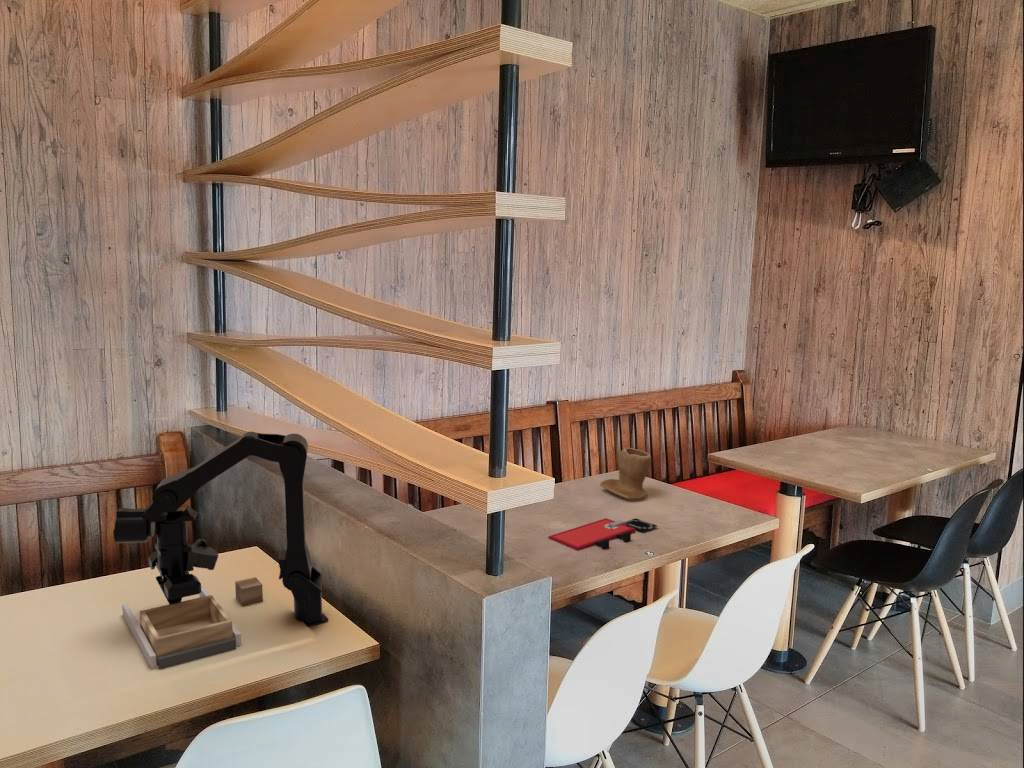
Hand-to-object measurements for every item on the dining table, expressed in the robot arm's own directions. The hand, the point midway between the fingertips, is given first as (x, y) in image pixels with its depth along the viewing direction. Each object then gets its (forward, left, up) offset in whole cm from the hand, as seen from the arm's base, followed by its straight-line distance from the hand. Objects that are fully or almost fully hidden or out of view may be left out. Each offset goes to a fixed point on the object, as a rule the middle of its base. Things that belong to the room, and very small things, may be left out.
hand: (175, 611), depth 171 cm
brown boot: (+17, -141, -4) cm, 142 cm away
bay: (-3, 0, -4) cm, 5 cm away
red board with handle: (-6, -112, -4) cm, 112 cm away
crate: (-8, 0, -3) cm, 9 cm away
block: (+3, -16, -4) cm, 16 cm away
